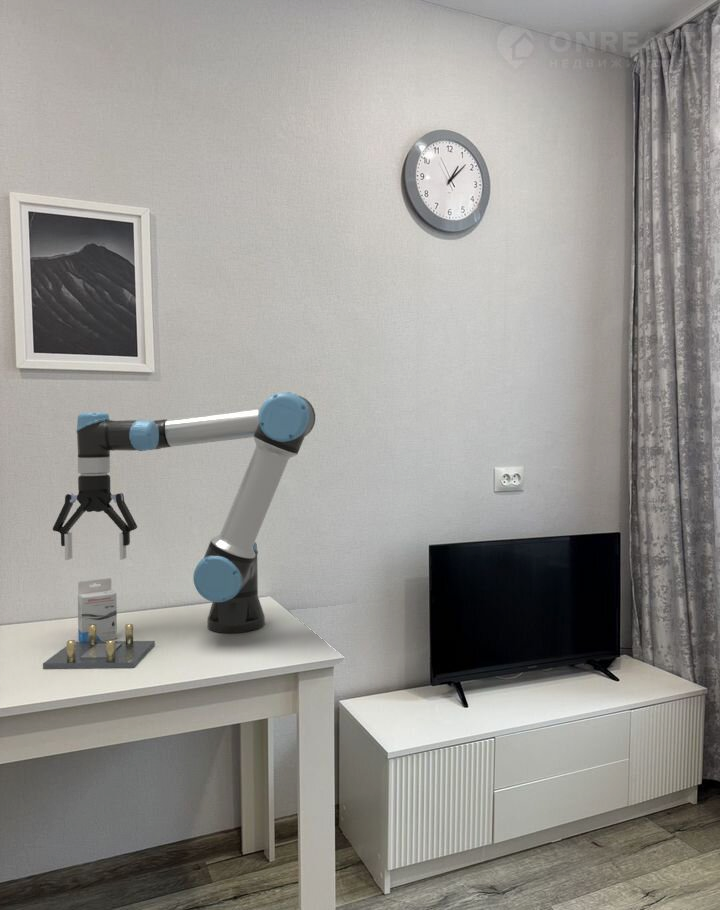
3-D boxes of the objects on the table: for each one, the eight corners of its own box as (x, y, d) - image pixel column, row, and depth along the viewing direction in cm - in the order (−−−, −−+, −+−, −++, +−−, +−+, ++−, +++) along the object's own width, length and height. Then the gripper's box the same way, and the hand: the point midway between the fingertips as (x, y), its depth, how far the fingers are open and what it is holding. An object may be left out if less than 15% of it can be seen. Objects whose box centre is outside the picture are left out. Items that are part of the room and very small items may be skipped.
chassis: (154, 645, 169) (154, 622, 168) (134, 667, 153) (133, 642, 152) (72, 646, 168) (71, 623, 168) (43, 668, 152) (42, 643, 152)
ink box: (82, 644, 170) (80, 585, 170) (77, 639, 174) (76, 581, 174) (117, 638, 175) (116, 580, 174) (112, 634, 179) (111, 577, 178)
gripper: (148, 473, 177) (150, 555, 178) (50, 474, 177) (52, 556, 177) (139, 474, 170) (141, 561, 170) (37, 475, 169) (39, 562, 170)
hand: (95, 559), depth 174 cm, fingers open, 13 cm apart
